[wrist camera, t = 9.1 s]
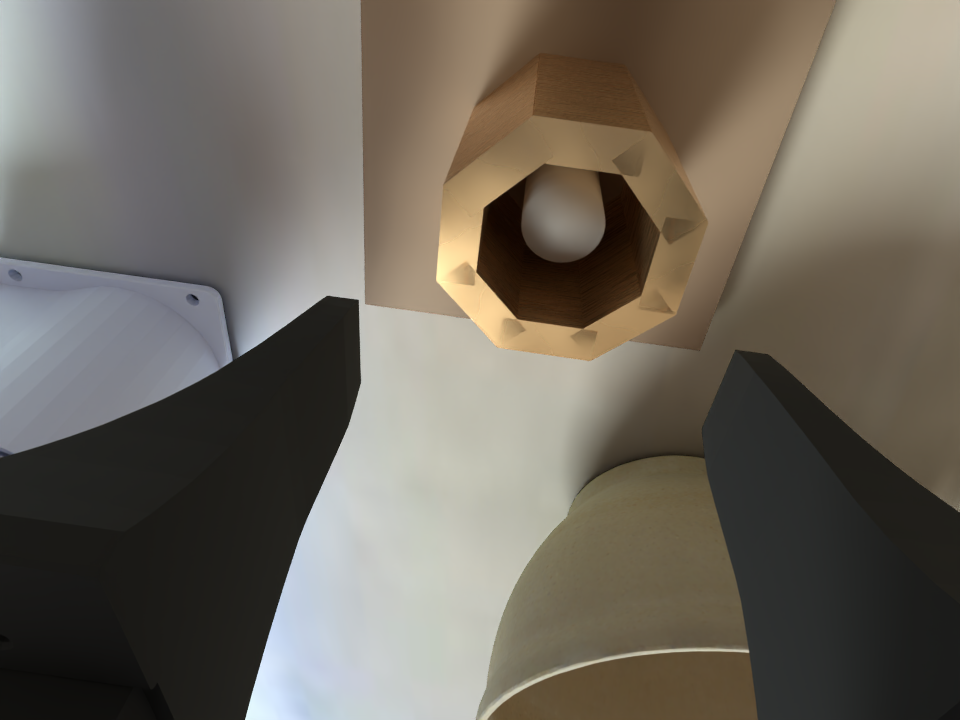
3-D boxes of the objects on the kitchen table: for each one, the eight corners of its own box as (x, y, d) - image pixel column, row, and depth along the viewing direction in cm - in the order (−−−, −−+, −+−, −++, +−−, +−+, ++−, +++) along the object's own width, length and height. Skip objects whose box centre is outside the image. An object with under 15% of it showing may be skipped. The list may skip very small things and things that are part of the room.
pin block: (374, 283, 23) (328, 383, 19) (374, -116, 16) (297, -121, 11) (692, 327, 23) (727, 439, 18) (834, -58, 16) (954, -38, 11)
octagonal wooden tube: (461, 233, 20) (432, 337, 15) (480, 44, 17) (449, 103, 12) (632, 257, 20) (656, 370, 15) (685, 73, 17) (737, 143, 12)
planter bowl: (627, 327, 24) (668, 579, 15) (932, 493, 27) (1110, 775, 18) (440, 544, 33) (398, 779, 24) (687, 647, 36) (729, 884, 27)
